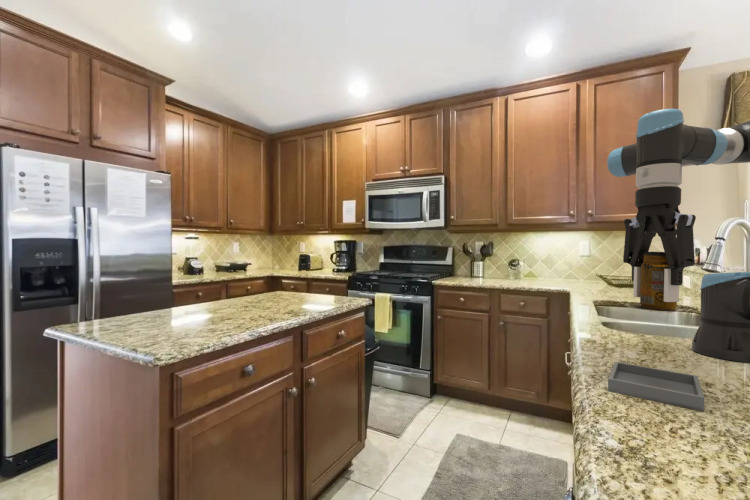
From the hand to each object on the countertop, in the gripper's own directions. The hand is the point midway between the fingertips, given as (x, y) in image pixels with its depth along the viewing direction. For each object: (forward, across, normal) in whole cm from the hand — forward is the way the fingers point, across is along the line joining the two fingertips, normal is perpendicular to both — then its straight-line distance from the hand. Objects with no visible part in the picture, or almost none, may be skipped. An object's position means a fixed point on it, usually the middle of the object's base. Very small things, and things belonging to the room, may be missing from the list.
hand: (655, 298), depth 76 cm
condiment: (+2, 0, 0) cm, 2 cm away
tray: (+19, 0, 0) cm, 19 cm away
